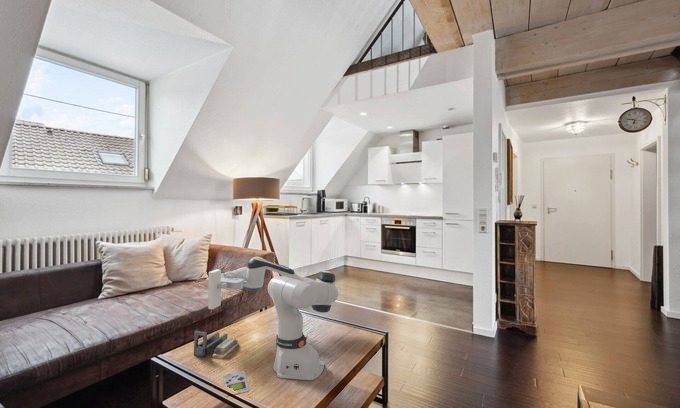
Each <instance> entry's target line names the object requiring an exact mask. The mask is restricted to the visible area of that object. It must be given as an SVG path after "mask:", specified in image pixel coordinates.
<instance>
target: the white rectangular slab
mask: <svg viewBox="0 0 680 408" xmlns="http://www.w3.org/2000/svg"><path fill="white" fill-rule="evenodd" d="M221 272H222V270H221V269H217V268H216V269H214V270H210V271H209V272H208V277H209V278H208V277H207V278H208V286H207V289H208V290H207V291H208V297H207V298H208V299H207V304H208V306H207V309H208V310H214V309H217V308H218V307H220V306H221V304H222V296H221V295H222V288H221V289H217V285H219V284H221Z"/></svg>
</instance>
